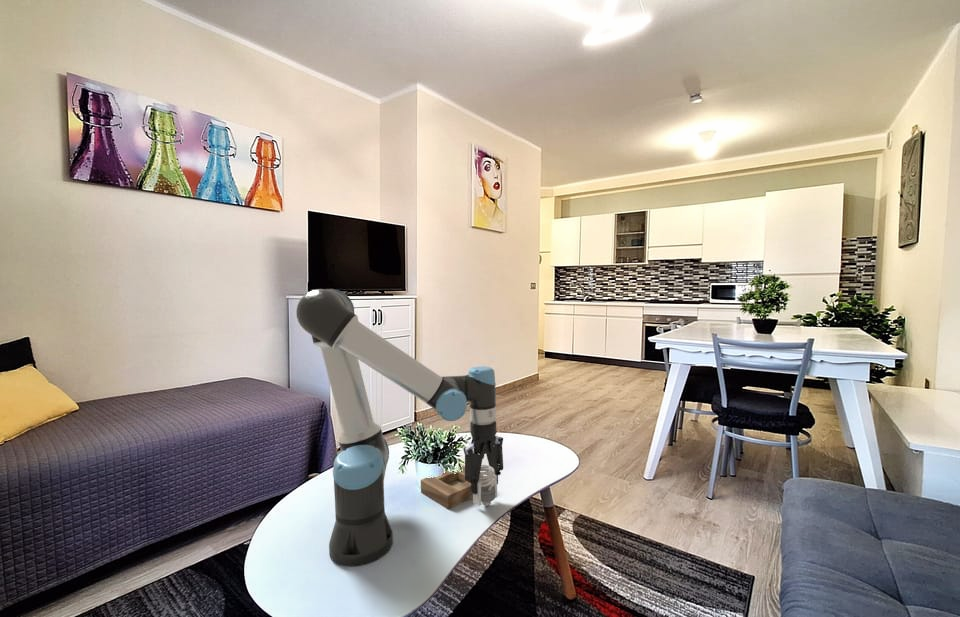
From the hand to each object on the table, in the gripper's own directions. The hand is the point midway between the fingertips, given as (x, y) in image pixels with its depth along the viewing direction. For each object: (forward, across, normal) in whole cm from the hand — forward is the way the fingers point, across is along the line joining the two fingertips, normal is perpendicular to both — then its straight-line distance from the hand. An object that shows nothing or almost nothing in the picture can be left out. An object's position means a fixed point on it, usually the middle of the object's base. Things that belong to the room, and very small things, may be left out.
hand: (485, 499), depth 121 cm
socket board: (+2, -1, +13) cm, 13 cm away
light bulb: (+2, 0, 0) cm, 2 cm away
